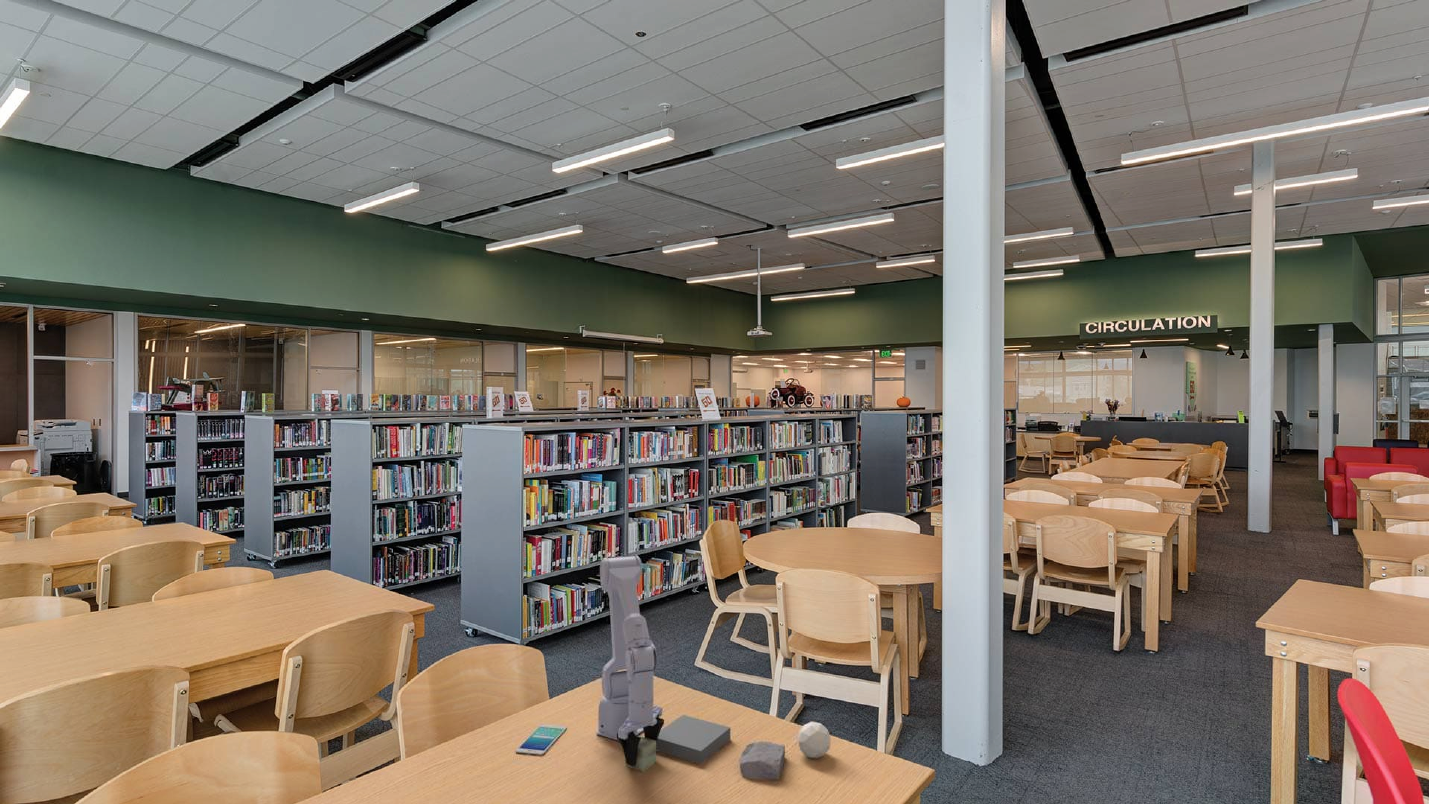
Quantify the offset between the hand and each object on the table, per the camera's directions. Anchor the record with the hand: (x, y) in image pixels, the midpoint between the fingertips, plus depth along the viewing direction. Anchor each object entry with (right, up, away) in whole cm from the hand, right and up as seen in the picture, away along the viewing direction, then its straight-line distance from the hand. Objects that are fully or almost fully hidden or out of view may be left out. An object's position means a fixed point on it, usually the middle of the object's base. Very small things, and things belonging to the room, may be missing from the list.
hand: (640, 757), depth 163 cm
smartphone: (-26, -2, +12) cm, 28 cm away
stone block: (+28, -2, -1) cm, 28 cm away
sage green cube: (0, -2, 0) cm, 2 cm away
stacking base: (+11, -2, +10) cm, 15 cm away
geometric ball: (+41, -2, +4) cm, 41 cm away
